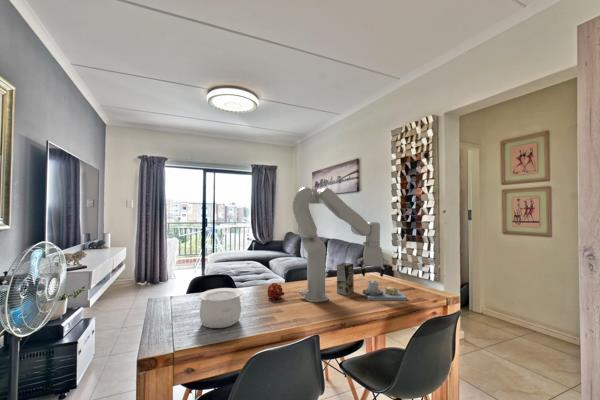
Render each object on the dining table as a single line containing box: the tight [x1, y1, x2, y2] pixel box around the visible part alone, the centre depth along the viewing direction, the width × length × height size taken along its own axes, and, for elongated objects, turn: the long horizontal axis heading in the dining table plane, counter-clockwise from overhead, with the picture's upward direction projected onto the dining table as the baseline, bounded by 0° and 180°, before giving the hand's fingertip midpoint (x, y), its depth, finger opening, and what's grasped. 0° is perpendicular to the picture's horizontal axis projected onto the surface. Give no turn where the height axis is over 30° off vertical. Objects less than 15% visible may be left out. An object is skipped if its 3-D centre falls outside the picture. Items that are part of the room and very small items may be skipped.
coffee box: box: [336, 262, 355, 296], centre depth 161 cm, size 9×6×16 cm
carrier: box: [363, 279, 408, 301], centre depth 154 cm, size 20×14×8 cm
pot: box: [198, 287, 243, 329], centre depth 118 cm, size 22×17×12 cm
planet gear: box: [362, 280, 383, 296], centre depth 154 cm, size 11×11×6 cm
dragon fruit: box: [267, 282, 285, 301], centre depth 151 cm, size 8×8×12 cm
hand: (372, 276), depth 154 cm, fingers open, 9 cm apart
